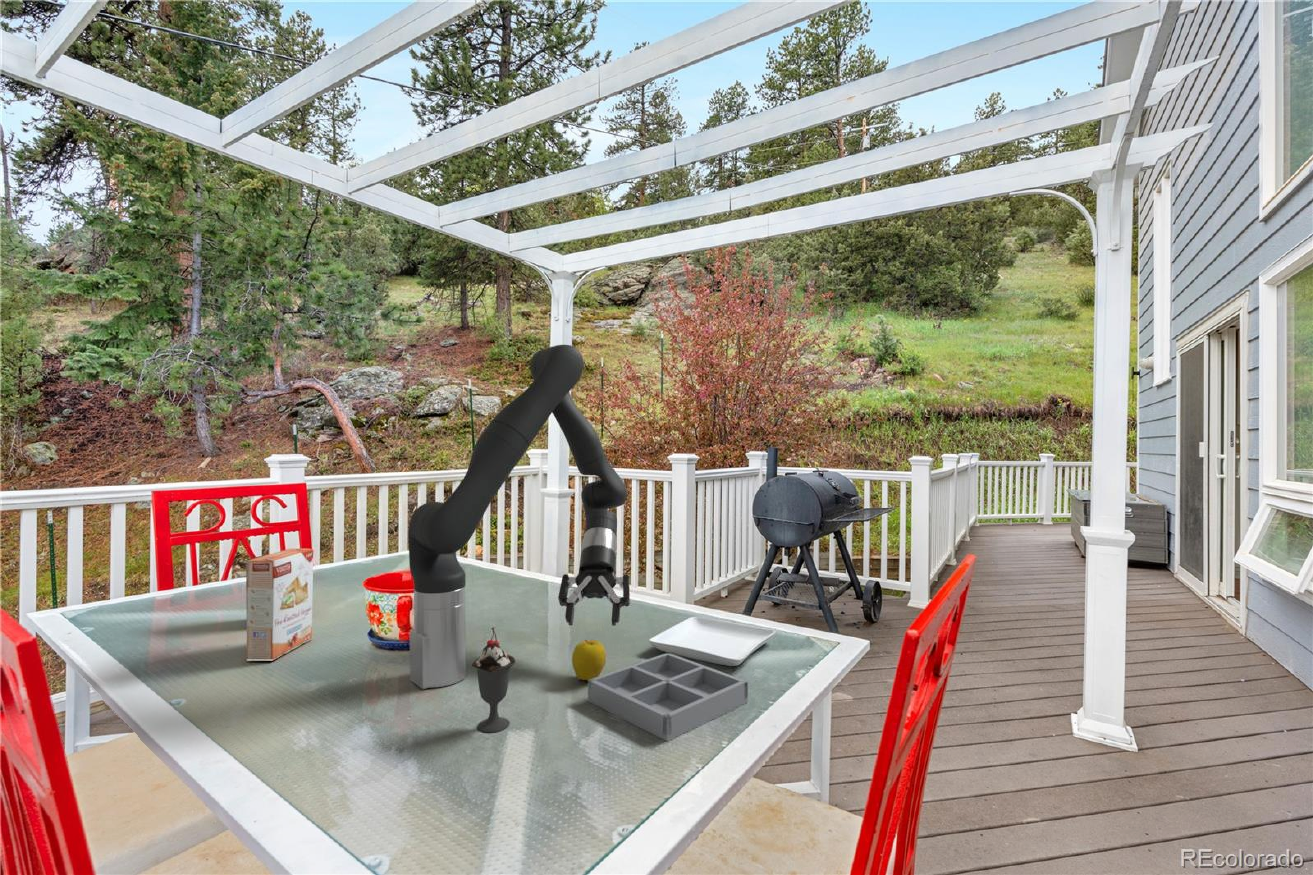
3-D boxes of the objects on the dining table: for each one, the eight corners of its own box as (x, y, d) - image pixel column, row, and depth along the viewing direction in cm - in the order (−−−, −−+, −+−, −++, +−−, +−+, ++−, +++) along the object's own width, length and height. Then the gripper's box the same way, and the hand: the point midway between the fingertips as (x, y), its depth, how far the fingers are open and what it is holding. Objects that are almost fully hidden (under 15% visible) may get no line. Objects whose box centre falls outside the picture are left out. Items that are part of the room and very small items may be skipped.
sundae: (498, 712, 101) (498, 621, 101) (523, 724, 97) (523, 629, 97) (463, 726, 96) (463, 631, 96) (488, 740, 92) (488, 640, 92)
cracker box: (274, 663, 123) (274, 560, 123) (245, 663, 123) (244, 559, 123) (314, 640, 137) (314, 547, 137) (288, 640, 137) (288, 547, 137)
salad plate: (777, 644, 136) (777, 628, 136) (740, 676, 117) (740, 658, 117) (692, 628, 146) (692, 614, 146) (646, 656, 128) (646, 640, 128)
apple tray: (667, 741, 91) (667, 717, 91) (588, 700, 105) (587, 680, 105) (747, 702, 105) (747, 681, 105) (667, 670, 119) (667, 652, 119)
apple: (574, 688, 111) (574, 644, 111) (569, 675, 117) (569, 633, 117) (609, 684, 113) (609, 641, 112) (602, 671, 119) (602, 630, 119)
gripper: (563, 543, 128) (553, 614, 117) (630, 543, 128) (627, 614, 116) (567, 563, 133) (558, 632, 122) (632, 563, 133) (629, 633, 122)
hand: (592, 623), depth 119 cm, fingers open, 8 cm apart
